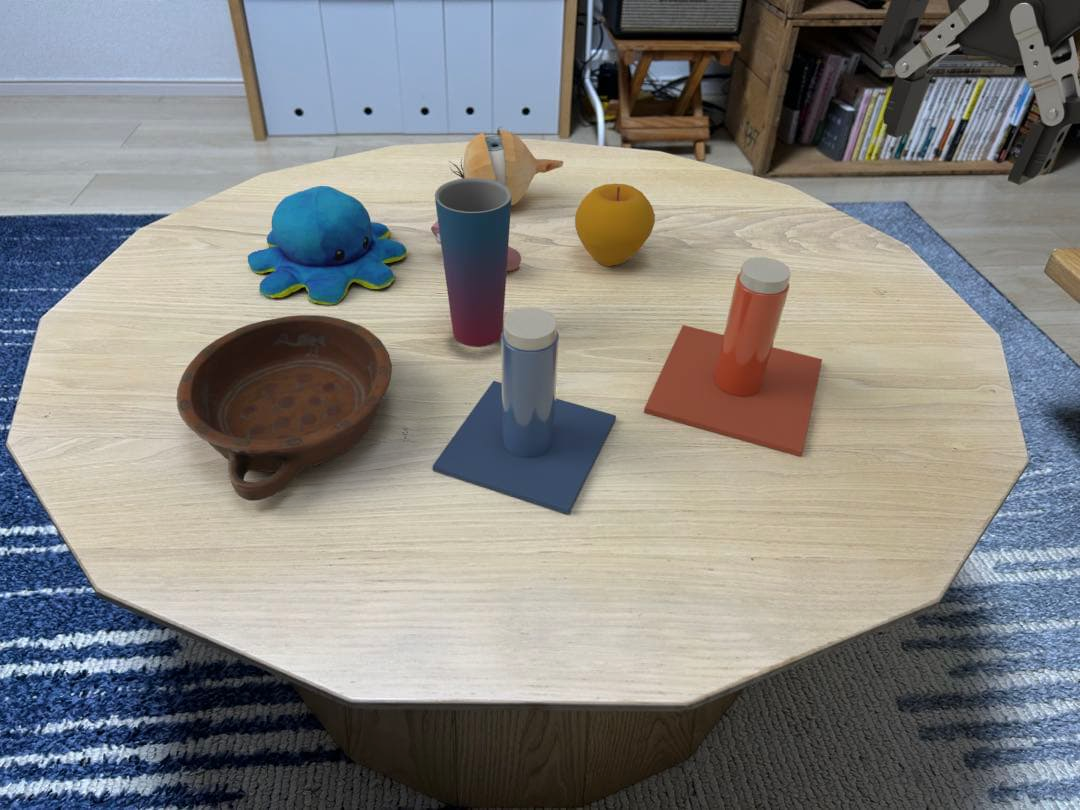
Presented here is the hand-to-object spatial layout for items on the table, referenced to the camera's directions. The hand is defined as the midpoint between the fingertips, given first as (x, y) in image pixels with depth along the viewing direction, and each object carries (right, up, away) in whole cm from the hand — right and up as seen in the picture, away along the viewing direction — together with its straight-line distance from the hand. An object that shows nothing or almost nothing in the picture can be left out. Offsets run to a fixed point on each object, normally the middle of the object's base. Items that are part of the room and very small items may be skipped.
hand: (955, 156), depth 50 cm
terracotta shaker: (-8, -14, +22) cm, 28 cm away
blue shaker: (-28, -19, +16) cm, 37 cm away
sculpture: (-31, +10, +50) cm, 60 cm away
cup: (-33, -9, +28) cm, 45 cm away
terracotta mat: (-8, -14, +23) cm, 28 cm away
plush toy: (-51, 0, +38) cm, 63 cm away
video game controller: (-34, 0, +38) cm, 52 cm away
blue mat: (-28, -19, +16) cm, 38 cm away
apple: (-19, +1, +40) cm, 44 cm away
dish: (-48, -17, +18) cm, 55 cm away
